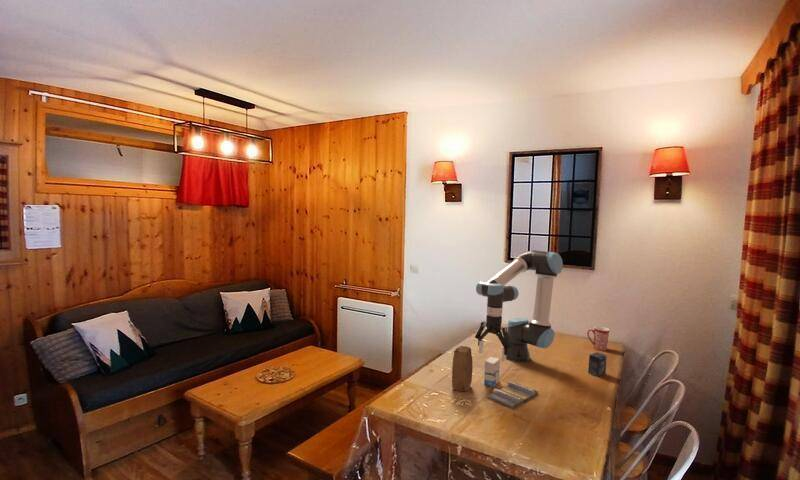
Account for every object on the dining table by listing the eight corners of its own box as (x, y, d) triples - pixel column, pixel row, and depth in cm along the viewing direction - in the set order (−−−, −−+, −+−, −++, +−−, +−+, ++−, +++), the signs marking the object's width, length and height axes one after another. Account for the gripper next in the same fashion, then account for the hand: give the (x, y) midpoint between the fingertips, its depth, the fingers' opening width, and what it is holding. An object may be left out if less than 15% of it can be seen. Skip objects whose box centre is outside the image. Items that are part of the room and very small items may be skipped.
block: (464, 394, 183) (465, 352, 182) (449, 389, 187) (451, 348, 186) (473, 385, 192) (475, 346, 190) (460, 381, 196) (461, 343, 195)
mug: (607, 347, 253) (609, 327, 252) (608, 352, 245) (610, 331, 244) (586, 344, 259) (587, 324, 258) (586, 348, 250) (587, 328, 249)
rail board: (488, 397, 180) (488, 391, 179) (513, 384, 194) (514, 378, 194) (513, 408, 170) (513, 402, 170) (538, 393, 185) (538, 387, 185)
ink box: (492, 387, 191) (493, 363, 190) (483, 384, 194) (484, 361, 193) (499, 381, 198) (500, 358, 197) (490, 378, 201) (490, 356, 200)
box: (597, 377, 206) (599, 357, 206) (587, 373, 211) (588, 354, 210) (605, 373, 211) (607, 354, 210) (595, 370, 216) (597, 351, 215)
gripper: (469, 310, 200) (467, 351, 201) (512, 321, 182) (510, 366, 183) (478, 309, 205) (476, 348, 207) (520, 319, 187) (518, 362, 188)
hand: (492, 356), depth 195 cm, fingers open, 13 cm apart
